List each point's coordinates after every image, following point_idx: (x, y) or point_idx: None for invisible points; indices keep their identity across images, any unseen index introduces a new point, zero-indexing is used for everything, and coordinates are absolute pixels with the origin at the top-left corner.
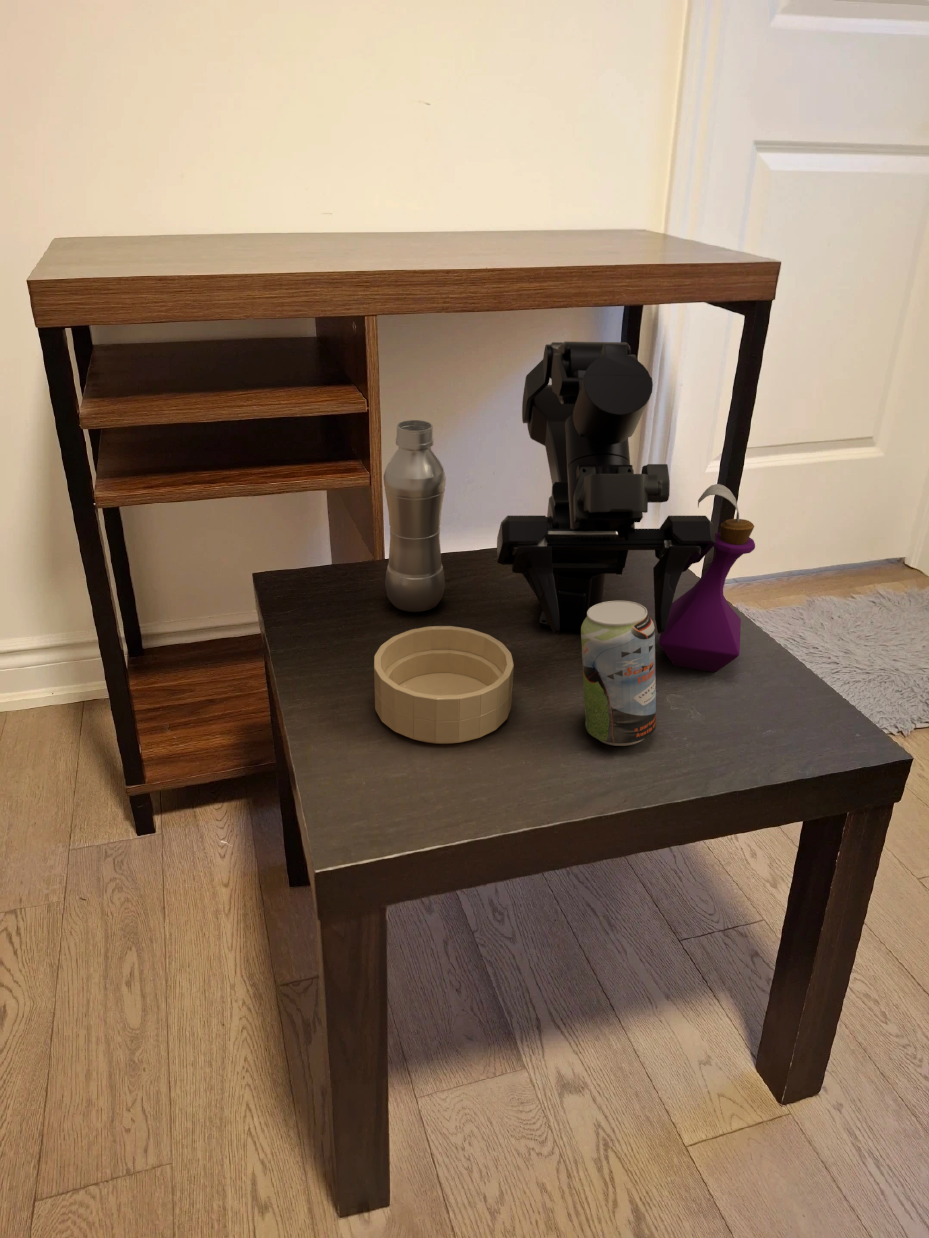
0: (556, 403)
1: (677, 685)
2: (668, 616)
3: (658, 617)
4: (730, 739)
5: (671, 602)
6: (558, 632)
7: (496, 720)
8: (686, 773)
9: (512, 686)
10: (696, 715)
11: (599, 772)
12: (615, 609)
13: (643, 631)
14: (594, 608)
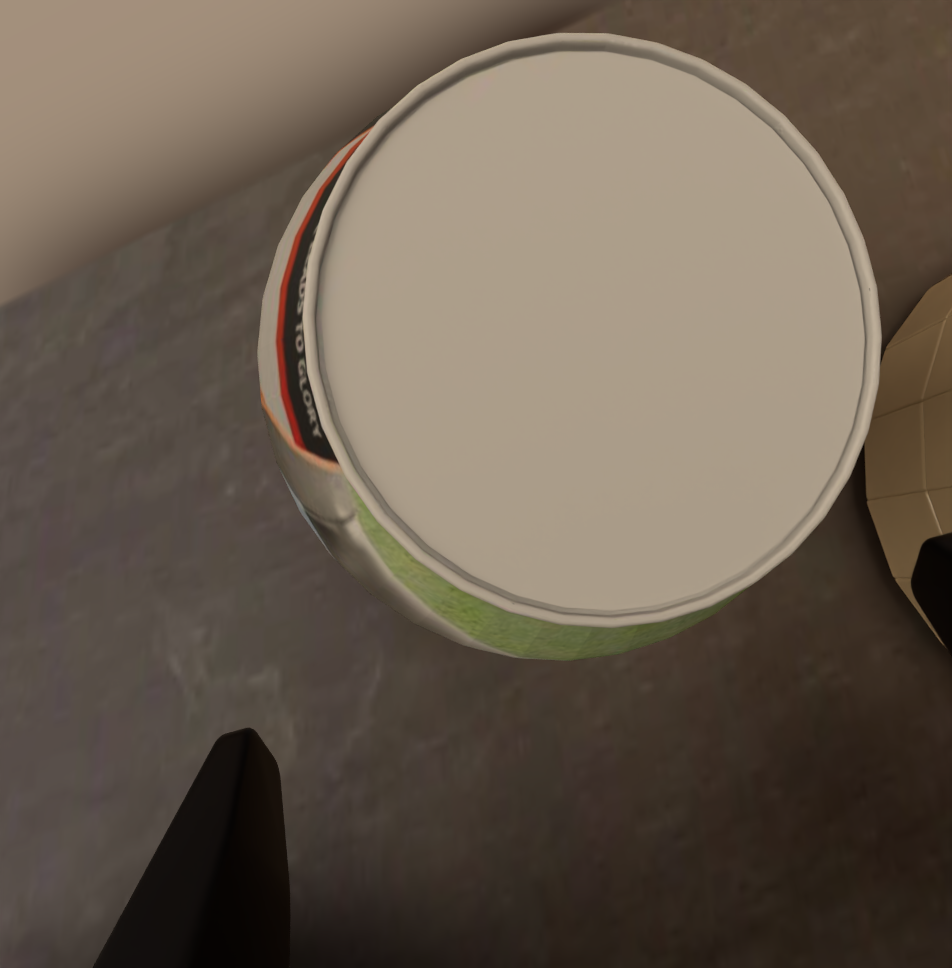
0: None
1: None
2: (169, 831)
3: (255, 840)
4: (70, 523)
5: (104, 956)
6: (925, 543)
7: (908, 338)
8: (231, 297)
9: (924, 493)
10: (182, 648)
11: None
12: (628, 400)
13: (343, 150)
14: (824, 431)
